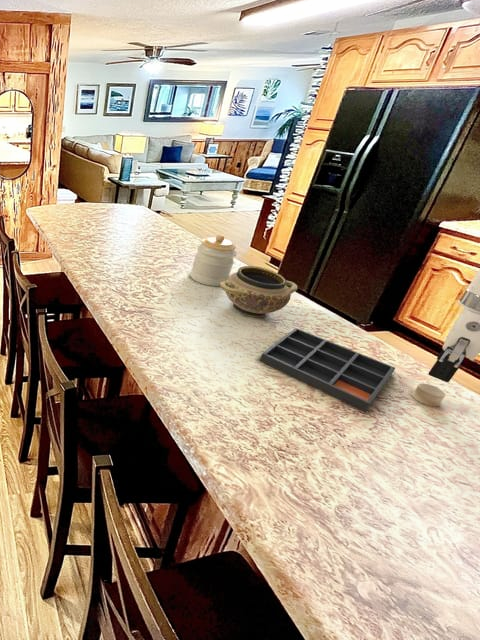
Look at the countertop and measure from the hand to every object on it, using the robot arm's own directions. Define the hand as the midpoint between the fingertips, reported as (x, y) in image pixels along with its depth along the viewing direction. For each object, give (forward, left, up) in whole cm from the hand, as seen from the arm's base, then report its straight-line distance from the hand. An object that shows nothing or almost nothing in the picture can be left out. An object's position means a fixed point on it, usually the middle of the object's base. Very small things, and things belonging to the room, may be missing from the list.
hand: (442, 370), depth 86 cm
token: (0, 0, -9) cm, 9 cm away
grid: (+18, +6, -9) cm, 20 cm away
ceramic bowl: (+43, -9, -9) cm, 45 cm away
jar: (+63, -21, -9) cm, 67 cm away
